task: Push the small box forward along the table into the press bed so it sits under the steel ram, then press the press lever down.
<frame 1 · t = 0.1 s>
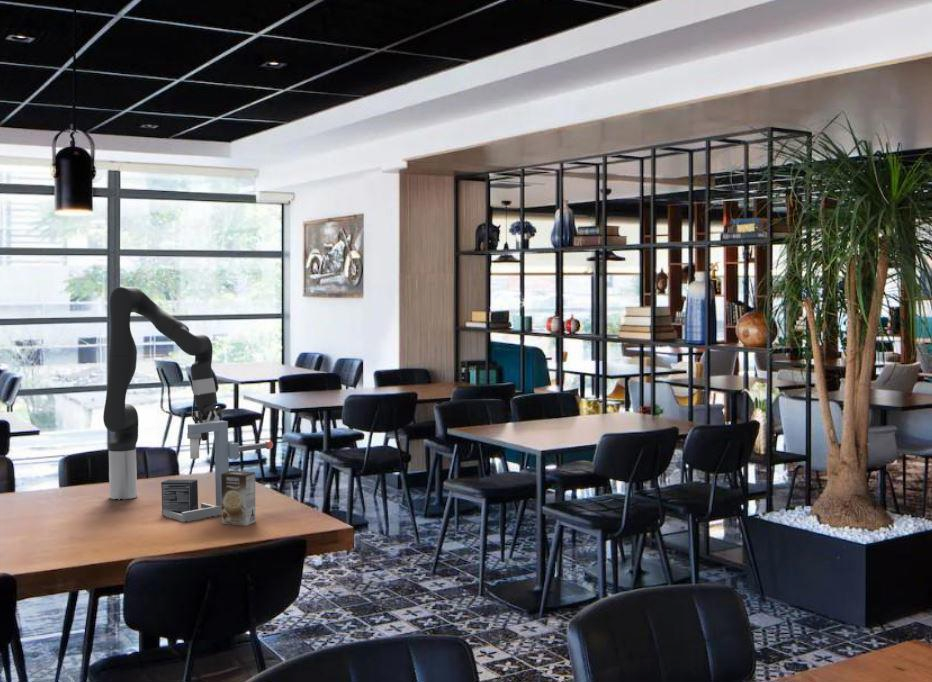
hand: (211, 438, 353), 22 cm above the table, tool pointing down, fingers open, 8 cm apart
lever: (250, 447, 347), point 20 cm above the table, hinge at 0.0°
press: (192, 515, 335), on the table
coffee box: (238, 523, 323), on the table
small box: (180, 512, 340), on the table
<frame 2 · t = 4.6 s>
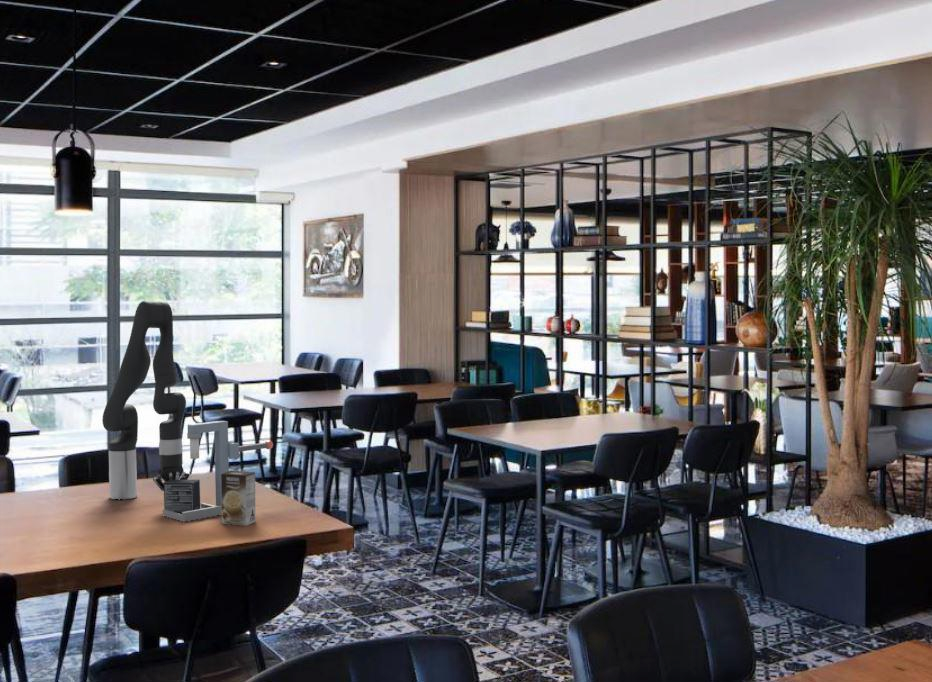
hand: (171, 502, 344), 2 cm above the table, tool pointing down, fingers closed
small box: (182, 512, 340), on the table, touching gripper
everything else where it was.
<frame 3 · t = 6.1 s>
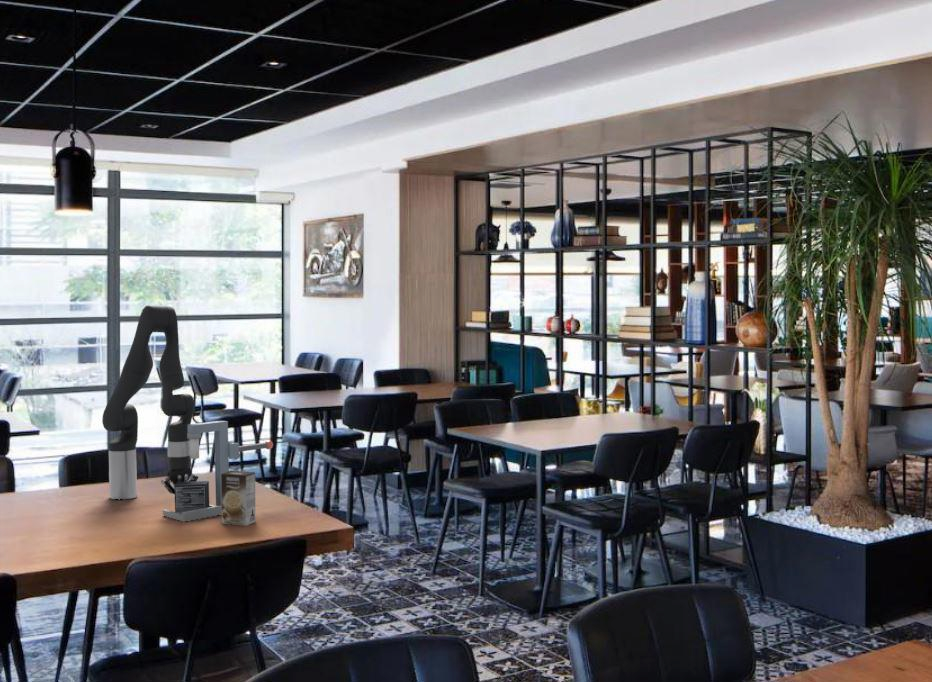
hand: (180, 505, 340), 2 cm above the table, tool pointing down, fingers closed
small box: (192, 514, 336), on the table, touching gripper
everything else where it was.
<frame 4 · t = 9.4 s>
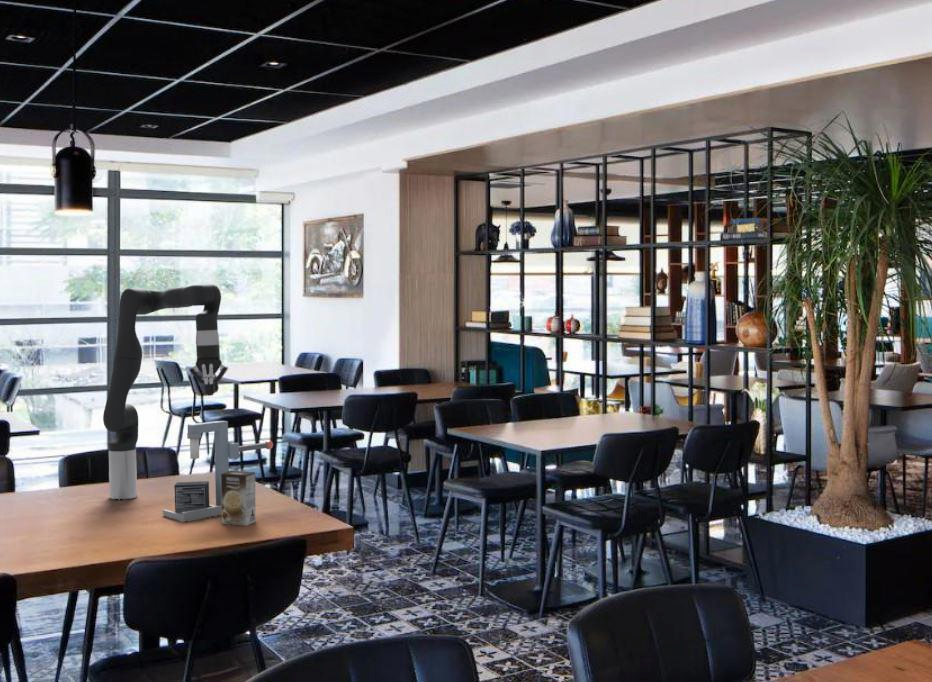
hand: (210, 395, 343), 38 cm above the table, tool pointing down, fingers closed
small box: (192, 514, 336), on the table
everything else where it was.
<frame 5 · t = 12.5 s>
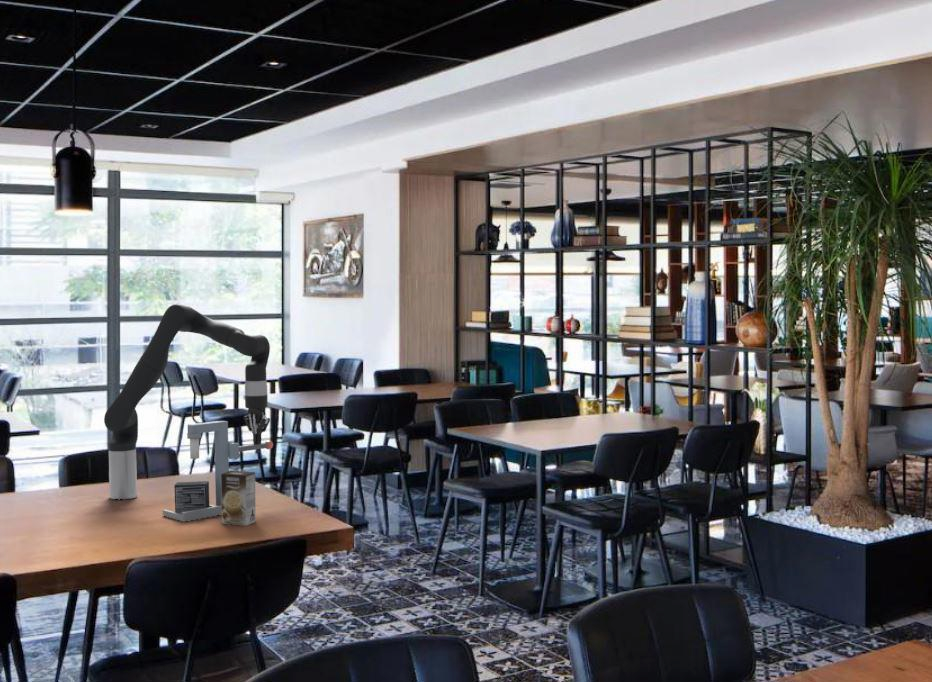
hand: (257, 444, 349), 21 cm above the table, tool pointing down, fingers closed
lever: (250, 447, 347), point 20 cm above the table, hinge at 0.0°, touching gripper
everything else where it was.
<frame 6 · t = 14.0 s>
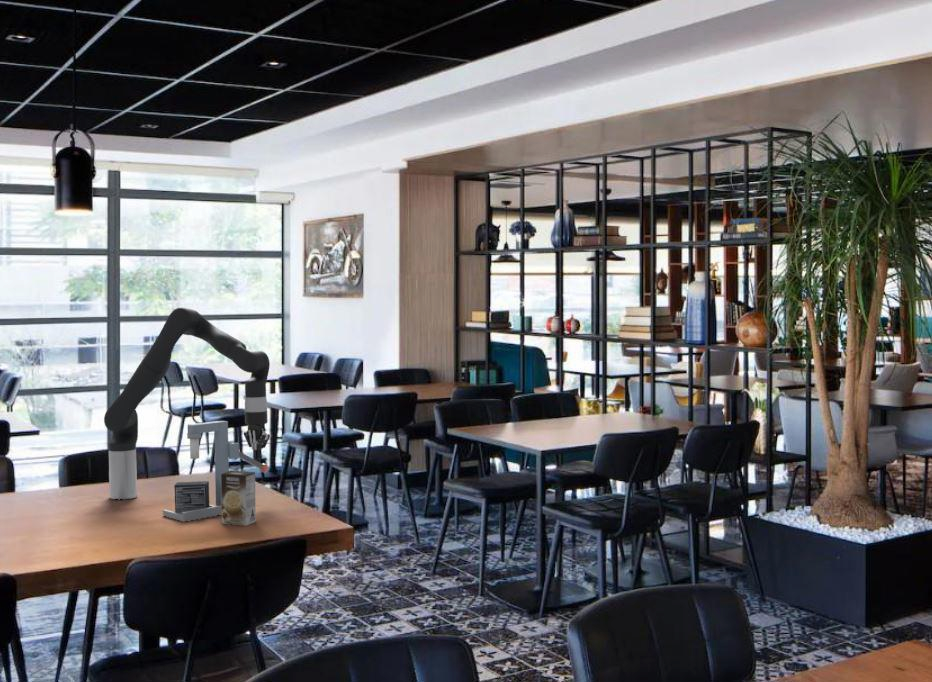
hand: (257, 460, 349), 15 cm above the table, tool pointing down, fingers closed
lever: (247, 459, 347), point 16 cm above the table, hinge at 31.0°, touching gripper
everything else where it was.
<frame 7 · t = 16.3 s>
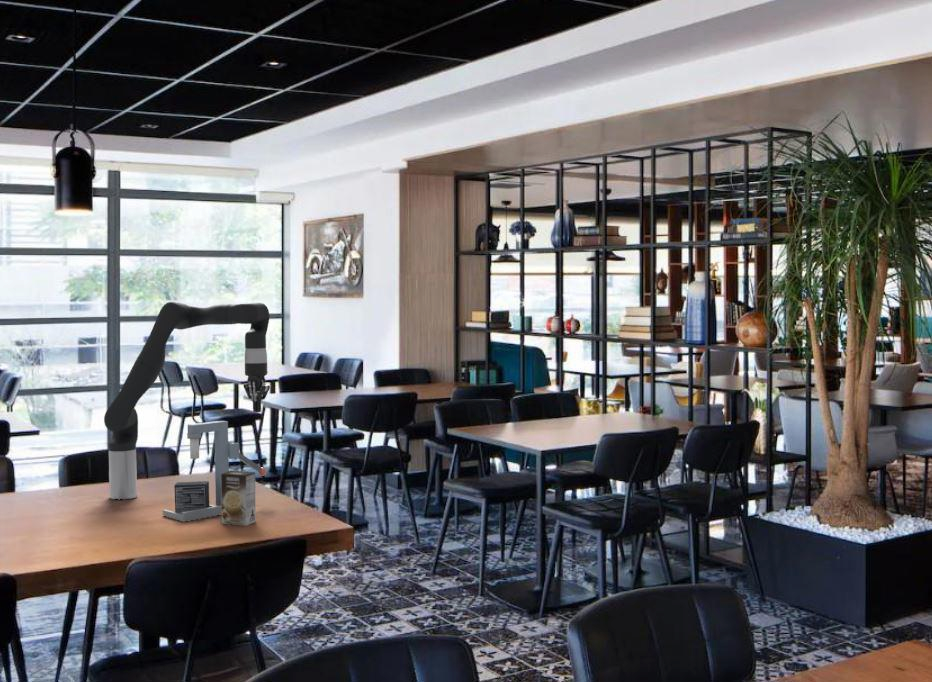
hand: (257, 412, 349), 32 cm above the table, tool pointing down, fingers closed
lever: (246, 461, 346), point 16 cm above the table, hinge at 36.4°
everything else where it was.
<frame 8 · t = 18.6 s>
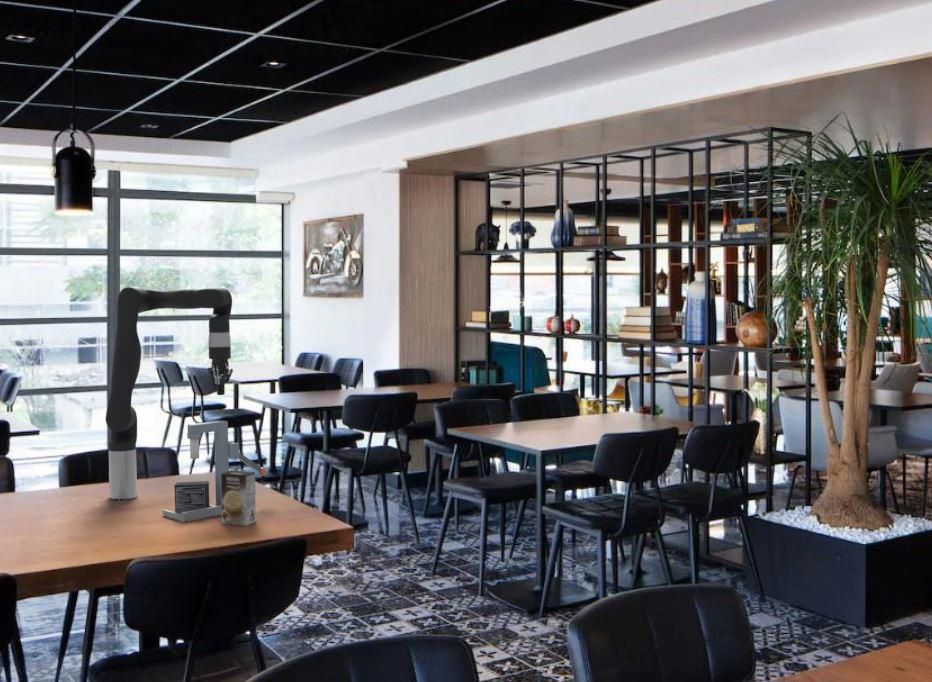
hand: (220, 394, 357), 37 cm above the table, tool pointing down, fingers closed
nothing on the table moved.
at the end: small box inside the target area (1.1 cm from its centre), on the table; small box tilted 0°; lever at +36° (first picture: +0°) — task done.
